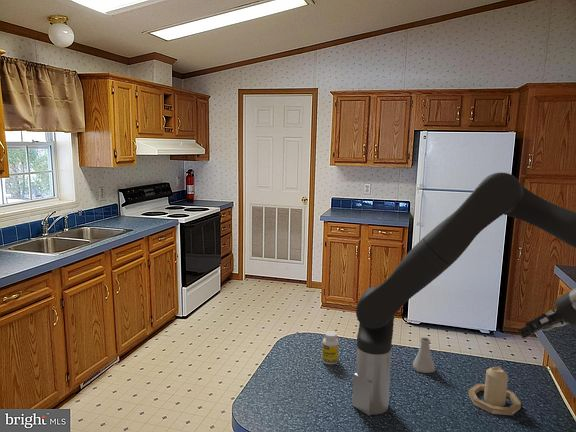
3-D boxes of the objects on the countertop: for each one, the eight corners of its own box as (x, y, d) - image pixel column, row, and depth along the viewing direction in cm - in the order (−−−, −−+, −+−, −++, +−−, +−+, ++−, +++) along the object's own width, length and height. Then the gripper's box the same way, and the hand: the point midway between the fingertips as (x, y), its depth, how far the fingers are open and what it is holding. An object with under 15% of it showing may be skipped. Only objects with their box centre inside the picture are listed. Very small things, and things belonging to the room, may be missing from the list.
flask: (438, 374, 134) (440, 344, 133) (415, 373, 134) (417, 344, 133) (431, 362, 142) (433, 334, 140) (409, 362, 142) (411, 334, 140)
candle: (486, 393, 124) (489, 361, 122) (507, 400, 120) (510, 368, 119) (481, 402, 120) (484, 369, 118) (502, 409, 116) (505, 376, 115)
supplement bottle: (320, 363, 140) (320, 335, 139) (323, 355, 146) (324, 329, 144) (336, 366, 139) (337, 337, 137) (339, 358, 144) (340, 331, 142)
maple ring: (505, 420, 112) (506, 415, 111) (461, 398, 121) (462, 393, 121) (526, 403, 119) (527, 398, 119) (483, 384, 129) (483, 379, 128)
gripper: (592, 284, 102) (540, 313, 113) (555, 293, 95) (505, 322, 107) (614, 313, 98) (558, 340, 110) (577, 324, 91) (522, 351, 103)
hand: (532, 331), depth 108 cm, fingers open, 8 cm apart
